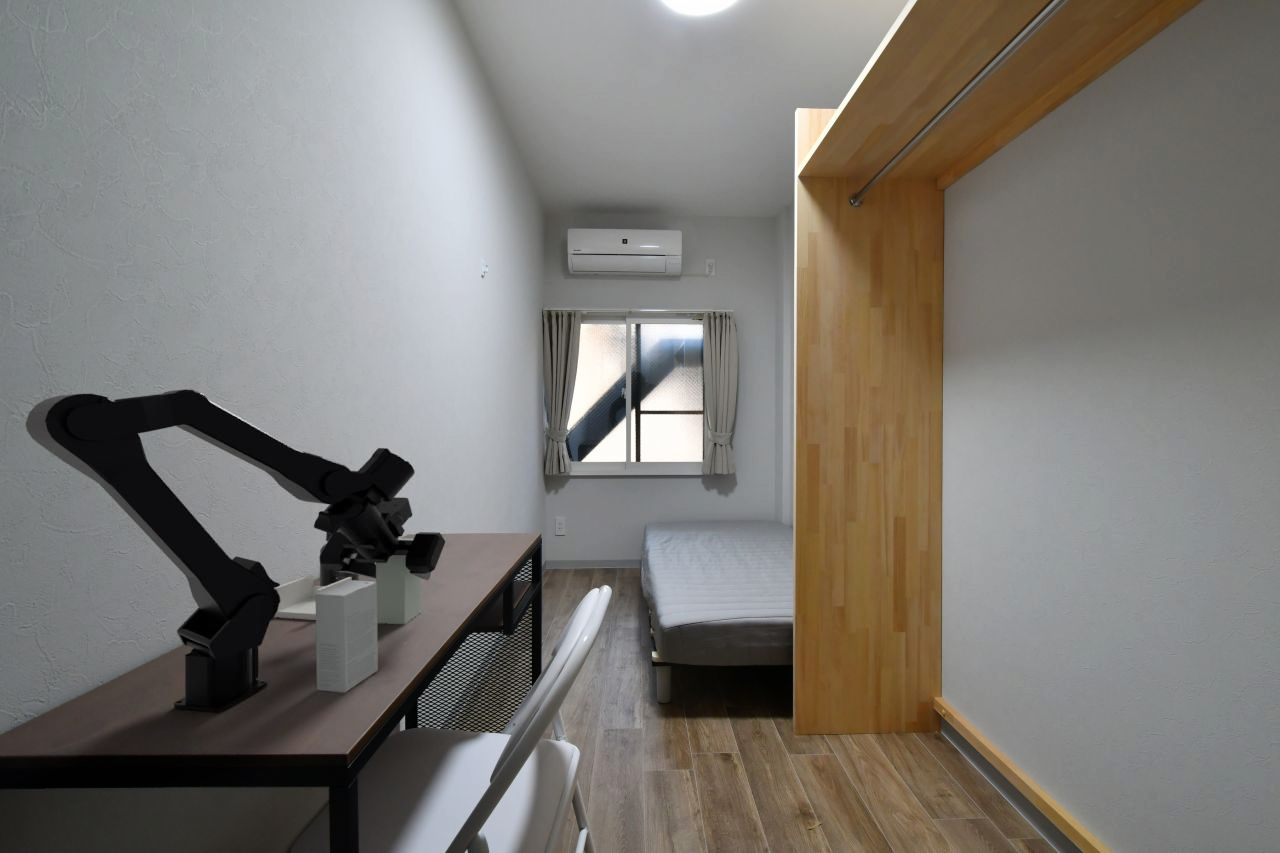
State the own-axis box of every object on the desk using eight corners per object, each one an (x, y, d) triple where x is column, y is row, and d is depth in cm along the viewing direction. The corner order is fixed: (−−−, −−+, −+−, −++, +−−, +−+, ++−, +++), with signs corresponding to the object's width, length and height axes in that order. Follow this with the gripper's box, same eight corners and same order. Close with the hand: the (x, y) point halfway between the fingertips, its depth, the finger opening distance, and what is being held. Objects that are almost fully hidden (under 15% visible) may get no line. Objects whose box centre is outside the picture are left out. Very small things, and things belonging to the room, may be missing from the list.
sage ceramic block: (404, 624, 86) (404, 545, 86) (376, 623, 86) (375, 544, 86) (420, 613, 91) (420, 538, 91) (393, 612, 91) (393, 538, 91)
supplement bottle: (346, 596, 100) (346, 533, 100) (311, 595, 100) (311, 533, 100) (366, 585, 107) (366, 526, 107) (333, 585, 107) (333, 526, 107)
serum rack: (361, 622, 86) (361, 592, 86) (274, 617, 89) (274, 587, 89) (392, 606, 94) (392, 578, 94) (310, 601, 97) (310, 574, 97)
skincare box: (350, 668, 70) (350, 579, 70) (378, 671, 69) (378, 581, 69) (313, 690, 64) (313, 593, 64) (343, 694, 63) (343, 595, 63)
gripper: (439, 483, 84) (469, 537, 95) (331, 482, 86) (373, 535, 97) (413, 543, 76) (449, 595, 87) (294, 540, 78) (344, 591, 89)
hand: (403, 576), depth 90 cm, fingers open, 9 cm apart
